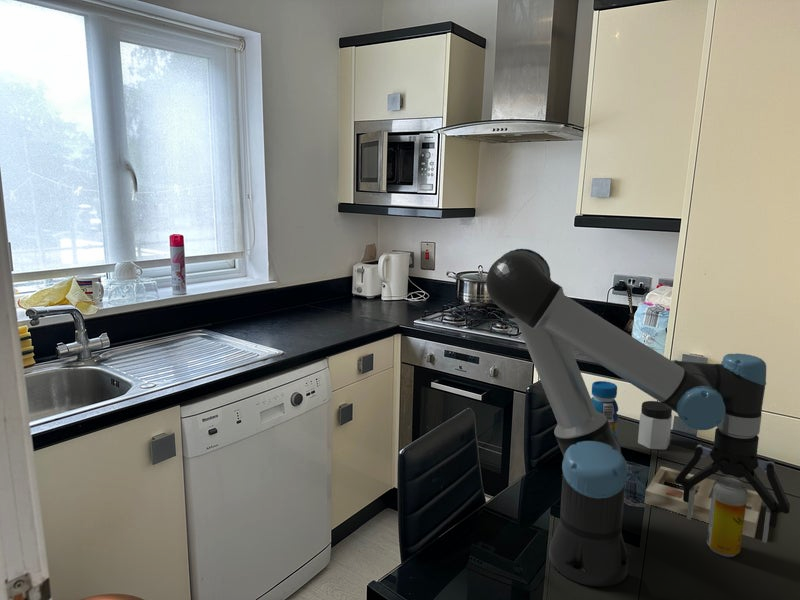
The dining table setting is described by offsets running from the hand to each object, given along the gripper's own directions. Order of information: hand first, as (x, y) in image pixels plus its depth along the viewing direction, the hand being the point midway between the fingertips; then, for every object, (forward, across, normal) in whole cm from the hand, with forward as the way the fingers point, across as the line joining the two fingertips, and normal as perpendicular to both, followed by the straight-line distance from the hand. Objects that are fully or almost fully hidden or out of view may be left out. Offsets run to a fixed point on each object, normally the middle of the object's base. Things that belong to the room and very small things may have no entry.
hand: (726, 527), depth 117 cm
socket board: (+5, +6, -16) cm, 18 cm away
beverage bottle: (+5, +36, -31) cm, 47 cm away
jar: (+5, +24, -45) cm, 52 cm away
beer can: (+5, 0, 0) cm, 5 cm away
